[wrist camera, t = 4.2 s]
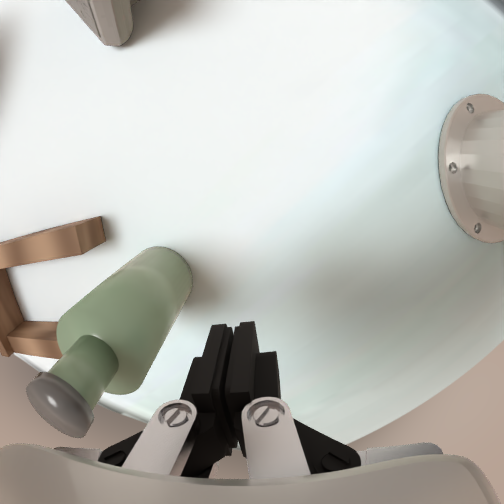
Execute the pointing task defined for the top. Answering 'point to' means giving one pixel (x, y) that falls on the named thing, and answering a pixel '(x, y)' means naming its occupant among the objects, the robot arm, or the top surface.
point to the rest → (31, 251)
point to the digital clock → (106, 18)
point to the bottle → (111, 338)
